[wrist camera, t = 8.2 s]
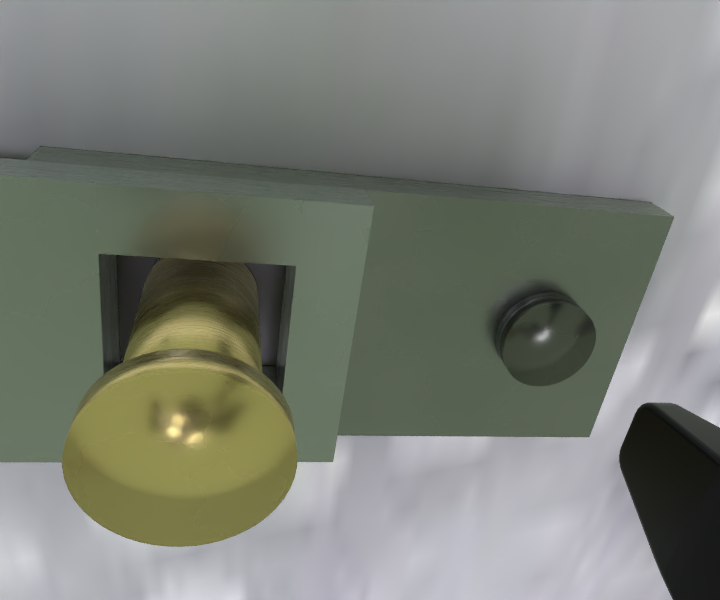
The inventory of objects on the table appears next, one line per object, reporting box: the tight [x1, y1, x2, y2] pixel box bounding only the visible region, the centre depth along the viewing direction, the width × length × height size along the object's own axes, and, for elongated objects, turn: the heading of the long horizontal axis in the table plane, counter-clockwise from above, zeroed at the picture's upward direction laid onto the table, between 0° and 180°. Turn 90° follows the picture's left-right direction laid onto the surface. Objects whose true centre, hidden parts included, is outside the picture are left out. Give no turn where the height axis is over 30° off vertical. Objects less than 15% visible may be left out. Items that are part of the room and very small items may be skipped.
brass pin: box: [62, 258, 297, 547], centre depth 16 cm, size 4×4×7 cm
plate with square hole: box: [0, 146, 674, 462], centre depth 17 cm, size 26×8×3 cm, turn 82°
